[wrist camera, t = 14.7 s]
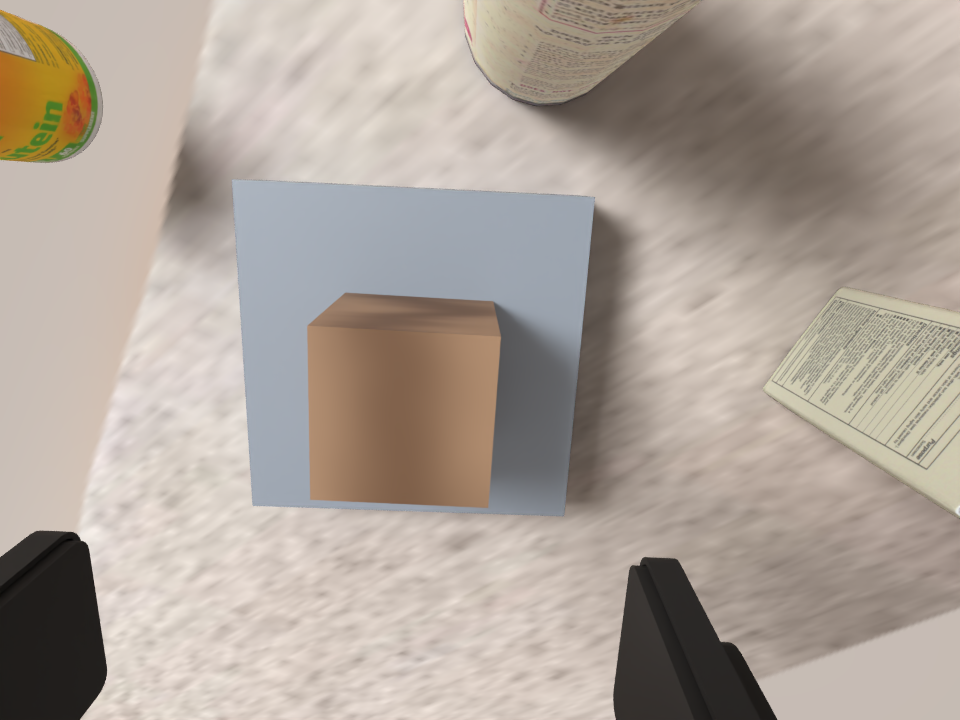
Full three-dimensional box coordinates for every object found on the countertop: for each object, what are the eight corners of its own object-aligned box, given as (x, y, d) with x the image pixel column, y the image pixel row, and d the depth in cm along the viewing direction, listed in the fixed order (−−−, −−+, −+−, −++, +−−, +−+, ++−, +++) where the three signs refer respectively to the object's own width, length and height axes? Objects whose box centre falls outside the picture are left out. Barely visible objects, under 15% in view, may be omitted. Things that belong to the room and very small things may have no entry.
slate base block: (577, 195, 27) (595, 197, 24) (552, 475, 31) (564, 516, 27) (265, 180, 27) (231, 179, 23) (279, 465, 31) (252, 505, 27)
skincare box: (823, 432, 30) (1048, 588, 19) (756, 388, 30) (945, 522, 18) (913, 326, 29) (1218, 422, 17) (844, 277, 28) (1114, 343, 16)
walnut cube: (493, 301, 25) (501, 336, 19) (483, 437, 26) (488, 508, 21) (345, 292, 24) (307, 325, 19) (345, 430, 26) (310, 499, 20)
